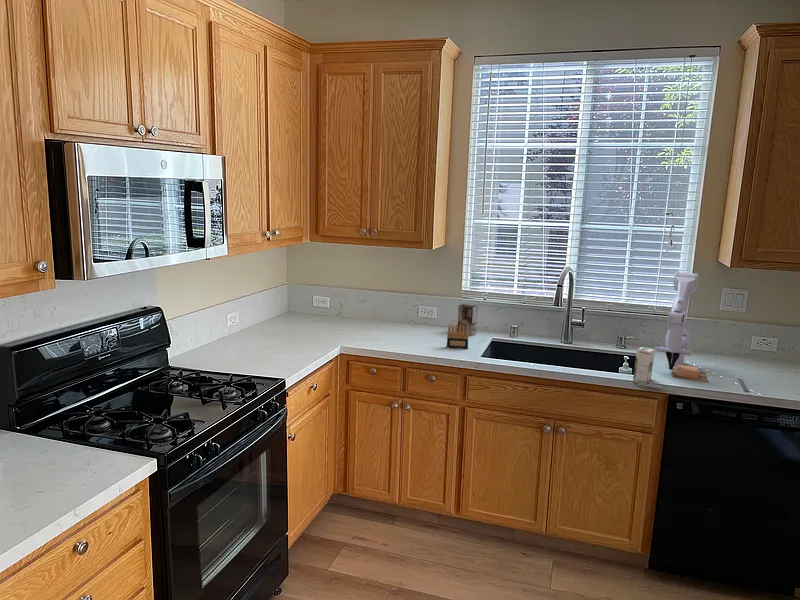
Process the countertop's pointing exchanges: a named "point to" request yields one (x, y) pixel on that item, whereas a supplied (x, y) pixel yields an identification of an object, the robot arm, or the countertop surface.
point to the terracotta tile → (687, 371)
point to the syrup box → (643, 365)
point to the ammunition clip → (457, 337)
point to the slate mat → (743, 385)
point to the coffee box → (467, 318)
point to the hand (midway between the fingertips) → (670, 369)
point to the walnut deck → (701, 377)
